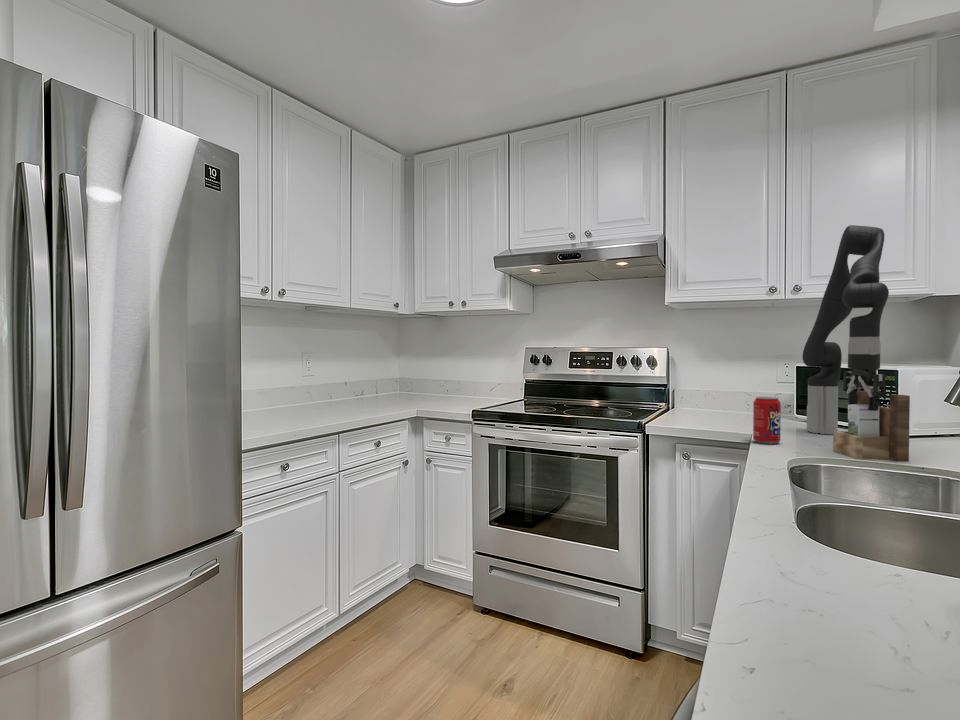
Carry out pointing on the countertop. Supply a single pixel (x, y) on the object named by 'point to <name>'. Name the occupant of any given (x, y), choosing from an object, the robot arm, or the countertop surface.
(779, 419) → the soda can
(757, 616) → the countertop surface
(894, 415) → the wooden stand
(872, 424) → the syrup box
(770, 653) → the countertop surface
